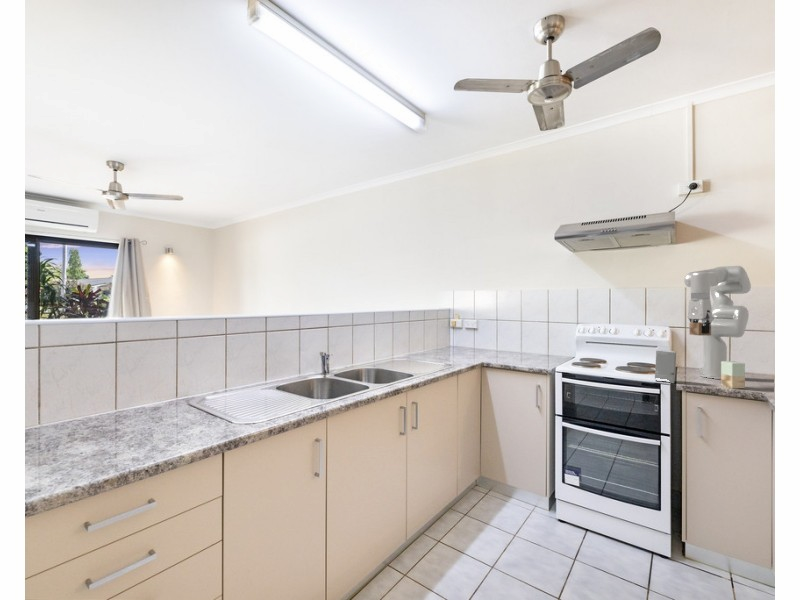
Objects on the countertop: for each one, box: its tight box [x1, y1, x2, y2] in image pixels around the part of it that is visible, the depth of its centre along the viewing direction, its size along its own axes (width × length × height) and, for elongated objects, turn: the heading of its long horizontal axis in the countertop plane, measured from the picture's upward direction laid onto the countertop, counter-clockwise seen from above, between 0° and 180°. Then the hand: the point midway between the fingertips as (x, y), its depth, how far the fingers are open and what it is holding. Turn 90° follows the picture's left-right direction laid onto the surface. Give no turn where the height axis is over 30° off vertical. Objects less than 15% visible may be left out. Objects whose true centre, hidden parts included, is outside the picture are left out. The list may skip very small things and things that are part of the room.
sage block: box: [721, 360, 746, 377], centre depth 179 cm, size 6×6×6 cm
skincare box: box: [654, 349, 677, 384], centre depth 192 cm, size 8×7×16 cm
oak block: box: [720, 374, 746, 389], centre depth 179 cm, size 6×6×6 cm
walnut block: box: [689, 321, 711, 336], centre depth 188 cm, size 6×6×6 cm
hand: (700, 332), depth 188 cm, fingers closed on walnut block, 6 cm apart
